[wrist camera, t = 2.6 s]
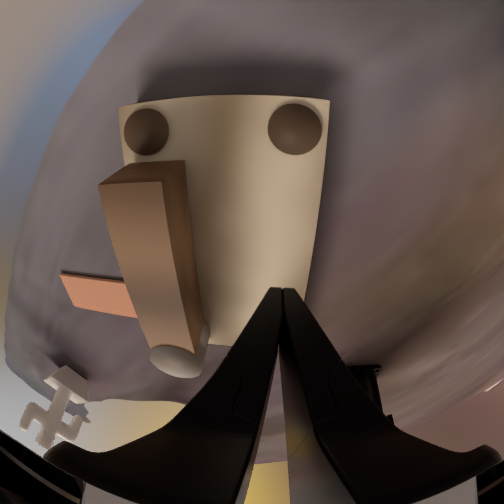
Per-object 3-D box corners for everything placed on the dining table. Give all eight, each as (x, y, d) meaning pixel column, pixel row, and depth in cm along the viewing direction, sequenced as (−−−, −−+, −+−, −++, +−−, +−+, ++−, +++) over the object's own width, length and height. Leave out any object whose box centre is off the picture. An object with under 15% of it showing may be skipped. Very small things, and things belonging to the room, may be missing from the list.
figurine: (87, 391, 37) (63, 457, 25) (46, 360, 33) (15, 428, 21) (102, 387, 34) (75, 464, 22) (55, 353, 31) (19, 431, 18)
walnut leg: (212, 345, 20) (205, 381, 17) (168, 340, 20) (157, 373, 17) (190, 159, 12) (166, 183, 9) (124, 163, 12) (90, 187, 9)
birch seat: (322, 98, 12) (330, 100, 10) (293, 329, 21) (293, 351, 20) (136, 103, 12) (116, 107, 10) (173, 320, 22) (166, 340, 20)
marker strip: (158, 284, 20) (157, 287, 19) (168, 319, 22) (167, 322, 22) (61, 273, 20) (59, 275, 20) (76, 304, 22) (74, 306, 22)
